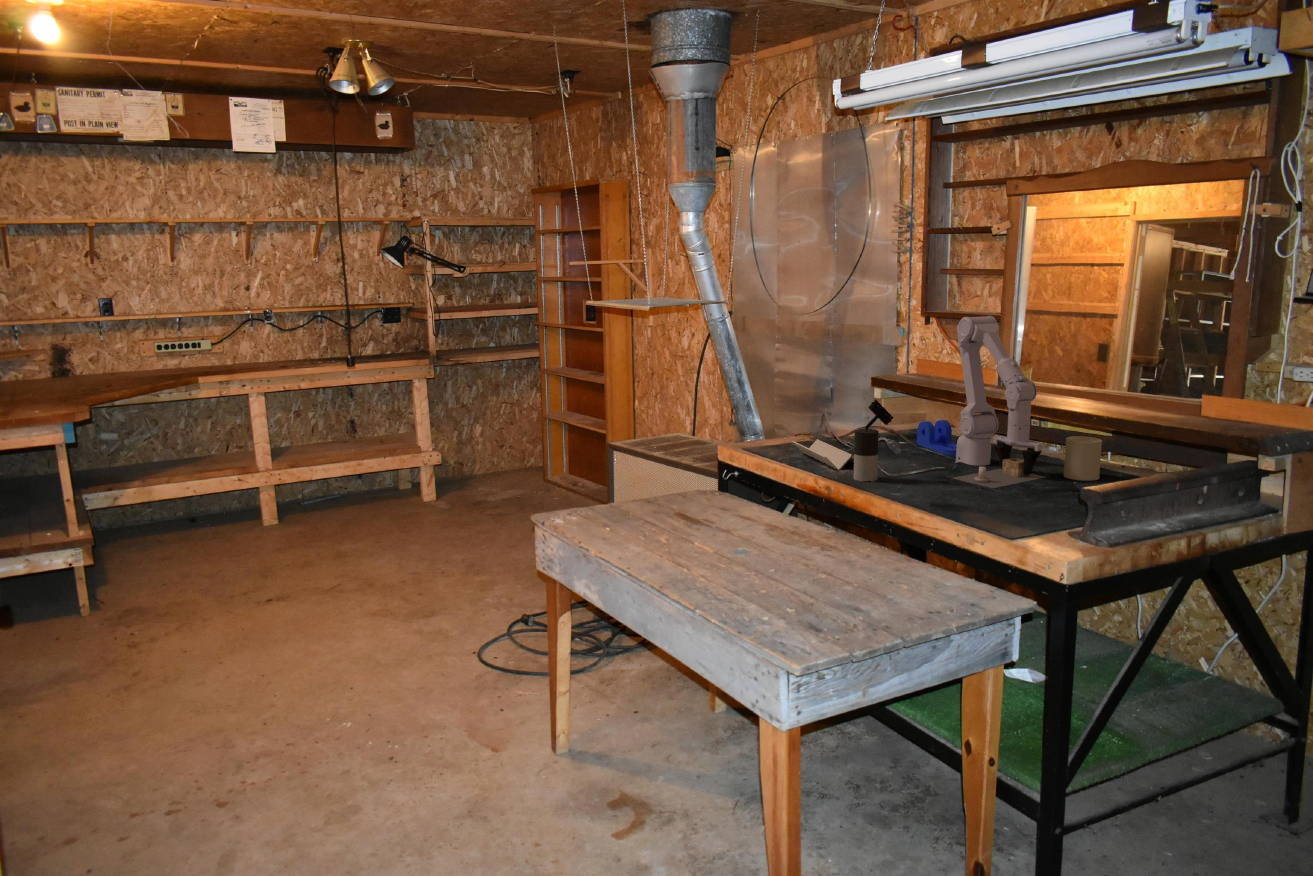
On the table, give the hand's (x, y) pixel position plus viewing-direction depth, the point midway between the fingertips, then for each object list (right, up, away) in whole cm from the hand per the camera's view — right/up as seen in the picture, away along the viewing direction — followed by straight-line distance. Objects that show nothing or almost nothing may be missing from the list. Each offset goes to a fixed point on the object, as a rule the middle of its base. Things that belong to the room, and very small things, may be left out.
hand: (1016, 472), depth 259 cm
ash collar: (0, -1, 0) cm, 1 cm away
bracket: (-9, +5, +38) cm, 39 cm away
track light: (-40, -2, +2) cm, 40 cm away
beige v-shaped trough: (-48, +2, +26) cm, 55 cm away
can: (+16, -2, -4) cm, 17 cm away
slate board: (-6, -2, -3) cm, 7 cm away
